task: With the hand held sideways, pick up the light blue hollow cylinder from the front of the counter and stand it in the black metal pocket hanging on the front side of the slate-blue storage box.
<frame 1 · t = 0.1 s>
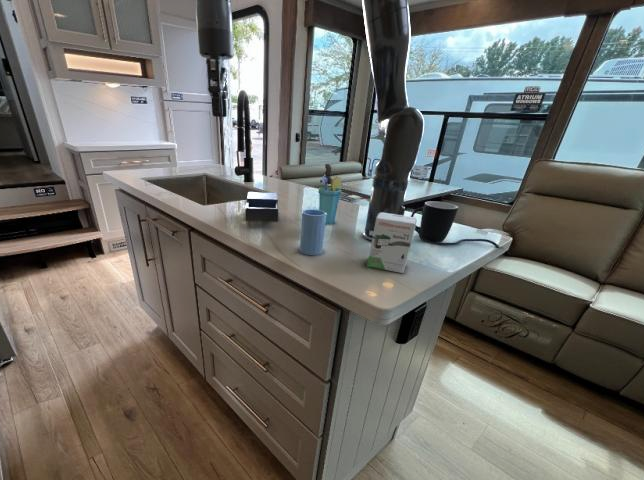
hand: (220, 116, 76), 29 cm above the countertop, tool pointing down, fingers open, 8 cm apart
ink box: (385, 266, 75), on the countertop
light blue hollow cylinder: (311, 251, 82), on the countertop
cup: (325, 223, 105), on the countertop
storage box: (262, 216, 109), on the countertop
mug: (426, 238, 96), on the countertop
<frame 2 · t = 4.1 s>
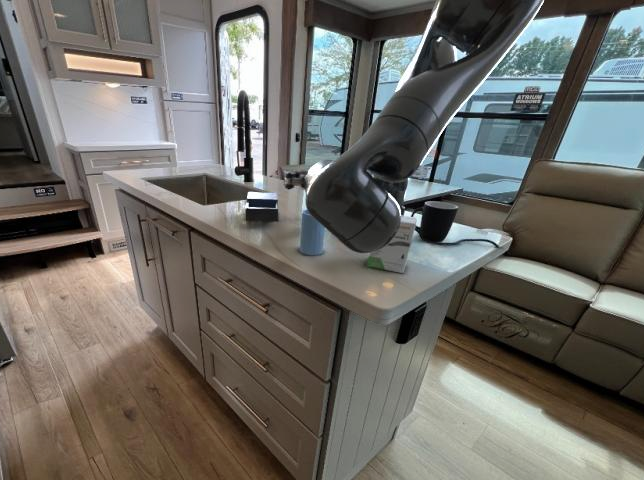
hand: (318, 176, 63), 20 cm above the countertop, tool horizontal, fingers open, 8 cm apart
nothing on the countertop moved.
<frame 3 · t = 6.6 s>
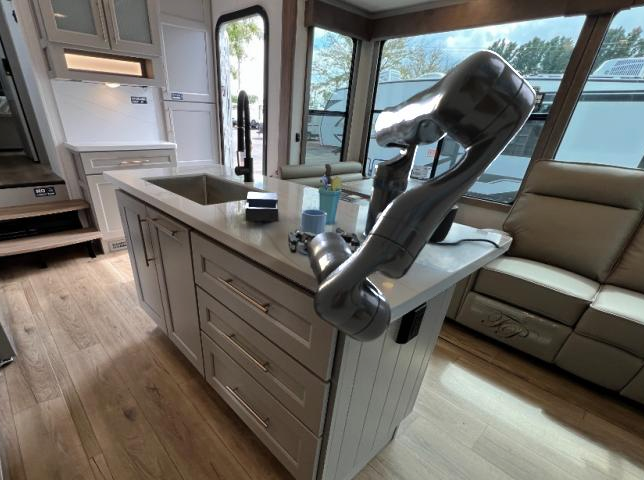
hand: (318, 231, 70), 8 cm above the countertop, tool horizontal, fingers open, 8 cm apart
nothing on the countertop moved.
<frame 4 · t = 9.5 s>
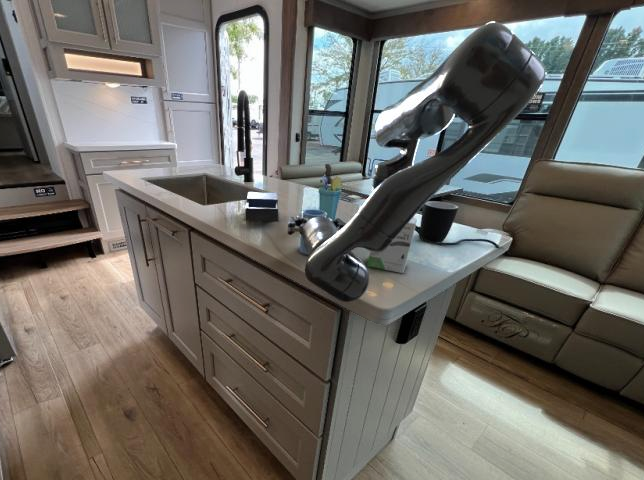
hand: (312, 217, 80), 8 cm above the countertop, tool horizontal, fingers closed on light blue hollow cylinder, 6 cm apart
light blue hollow cylinder: (310, 251, 82), on the countertop, touching gripper
everything else where it was.
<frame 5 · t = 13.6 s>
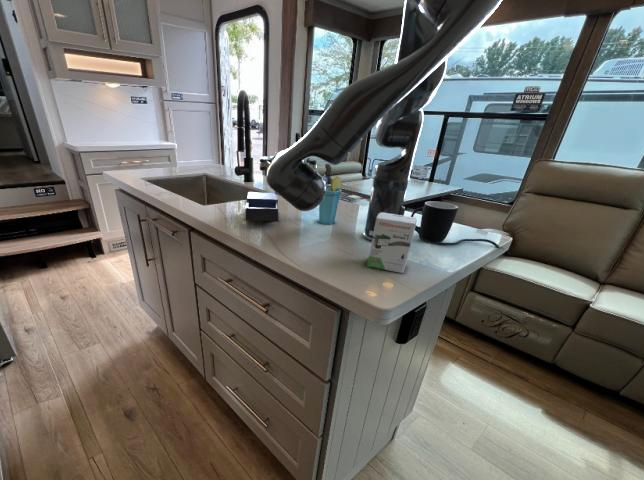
hand: (285, 160, 83), 20 cm above the countertop, tool horizontal, fingers closed on light blue hollow cylinder, 6 cm apart
light blue hollow cylinder: (285, 194, 85), point 12 cm above the countertop, touching gripper
everything else where it was.
when the fingers open (11 cm above the countertop, at t = 18.2 s): light blue hollow cylinder stays where it is, resting on storage box.
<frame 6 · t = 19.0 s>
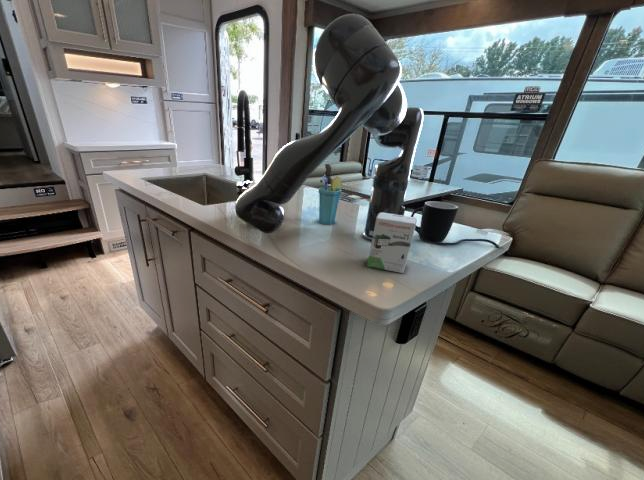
hand: (262, 184, 96), 12 cm above the countertop, tool horizontal, fingers open, 8 cm apart
light blue hollow cylinder: (261, 215, 99), point 3 cm above the countertop, touching storage box
everything else where it was.
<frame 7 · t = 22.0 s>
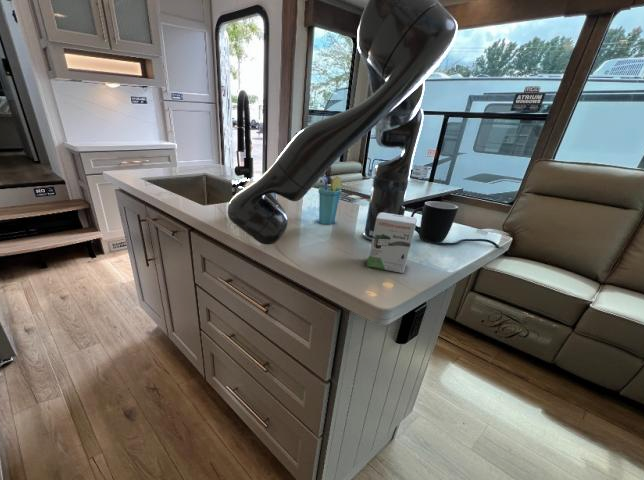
hand: (261, 182, 83), 15 cm above the countertop, tool horizontal, fingers open, 8 cm apart
nothing on the countertop moved.
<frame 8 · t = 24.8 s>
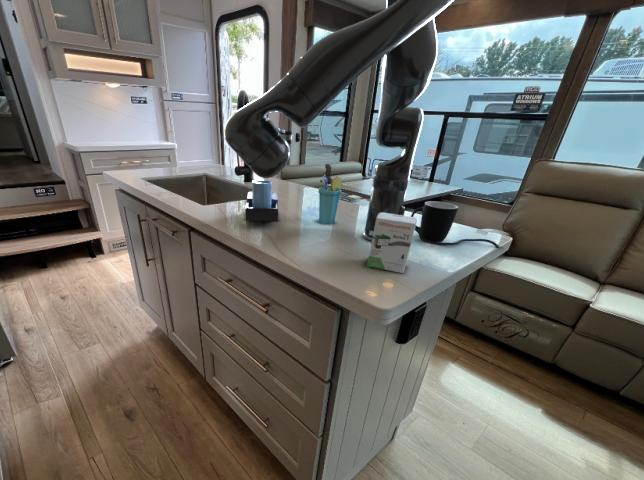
hand: (261, 134, 77), 26 cm above the countertop, tool horizontal, fingers open, 8 cm apart
nothing on the countertop moved.
at the end: light blue hollow cylinder 0.1 cm from the target spot on the storage box, point 3.0 cm above the storage box's base; light blue hollow cylinder tilted 0°; the gripper is holding nothing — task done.
